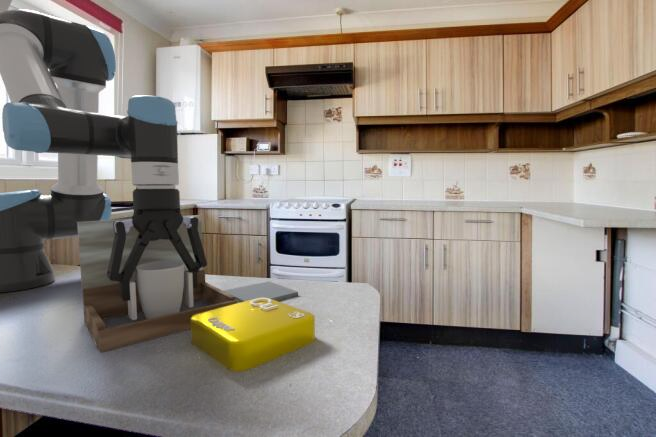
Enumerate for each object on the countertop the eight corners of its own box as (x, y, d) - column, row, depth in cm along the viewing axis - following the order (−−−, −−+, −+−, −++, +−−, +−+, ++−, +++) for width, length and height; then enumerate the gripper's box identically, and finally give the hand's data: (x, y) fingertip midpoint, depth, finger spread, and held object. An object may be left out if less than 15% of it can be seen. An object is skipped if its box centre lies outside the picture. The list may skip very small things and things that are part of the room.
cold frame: (83, 320, 65) (77, 222, 64) (203, 296, 80) (200, 215, 78) (100, 352, 53) (92, 230, 51) (238, 316, 67) (235, 220, 65)
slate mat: (223, 294, 81) (223, 290, 81) (269, 284, 89) (269, 281, 89) (249, 307, 72) (249, 303, 72) (298, 295, 80) (298, 291, 80)
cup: (194, 312, 70) (192, 261, 69) (172, 328, 62) (169, 271, 61) (154, 310, 70) (151, 260, 69) (127, 327, 62) (124, 270, 61)
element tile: (186, 342, 57) (185, 312, 57) (265, 317, 68) (264, 292, 67) (236, 377, 46) (235, 341, 46) (320, 341, 57) (320, 312, 57)
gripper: (86, 188, 54) (95, 333, 56) (223, 187, 68) (227, 303, 70) (79, 188, 60) (88, 320, 62) (207, 187, 74) (211, 294, 76)
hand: (162, 311), depth 66 cm, fingers open, 9 cm apart
